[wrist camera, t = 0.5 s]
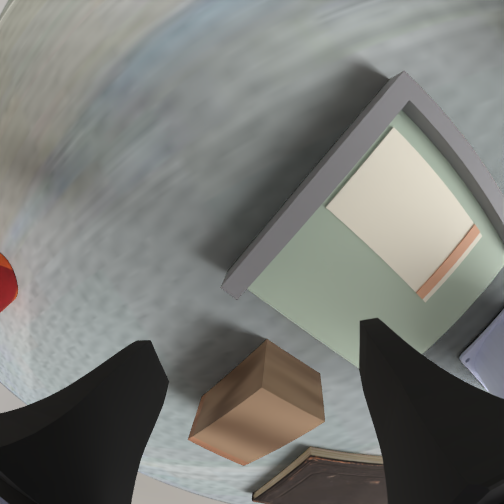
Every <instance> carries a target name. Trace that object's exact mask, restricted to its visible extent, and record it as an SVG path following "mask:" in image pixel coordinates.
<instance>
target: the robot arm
mask: <svg viewBox="0 0 504 504" xmlns="http://www.w3.org/2000/svg"><path fill="white" fill-rule="evenodd" d="M460 360H461V362H462V363H463V364H464V365H465V366H466V367H467V368H468V369H469V370H470V372H471V373H472V374H473V375H474V376H475V377H476V378H477V379H478V380H479V382H480V383H481V384H482V385H483V386H484V387H485V388H486V390H487V391H488V392H490V393H487V392H485V391H483V390H481V389H478V388H476V387H474V386H472V385H470V384H468V383H466V382H464V381H462V380H461V379H459V378H457V377H455V376H454V375H452V374H450V373H448V372H447V371H445V370H444V369H442V368H440V367H439V366H437V365H436V364H435V363H433V362H432V361H430V360H429V359H427V358H426V357H425V356H423V355H422V354H421V353H419V352H418V351H417V350H416V349H414V348H413V347H412V346H411V345H409V344H408V343H407V342H406V341H404V340H403V339H402V338H401V337H400V336H399V335H397V334H396V333H395V332H394V331H393V330H392V329H391V328H389V327H388V326H387V325H386V324H385V323H384V322H382V321H381V320H380V319H379V318H372V319H366V320H361V321H360V346H359V371H360V376H361V381H362V386H363V391H364V395H365V399H366V402H367V405H368V408H369V411H370V415H371V418H372V421H373V424H374V428H375V431H376V434H377V438H378V441H379V445H380V449H381V453H382V458H383V465H384V472H385V480H386V489H387V499H388V504H504V309H503V310H502V311H501V312H500V314H499V315H498V316H497V317H496V318H495V319H494V321H493V322H492V323H491V324H490V325H489V326H488V327H487V328H486V329H485V331H484V332H483V333H482V334H481V335H480V336H479V337H478V338H477V339H476V340H475V341H474V342H473V343H472V344H471V345H470V346H469V347H468V348H467V349H466V350H465V351H464V352H463V353H462V354H461V356H460ZM168 384H169V380H168V378H167V376H166V374H165V372H164V370H163V367H162V365H161V363H160V361H159V359H158V356H157V354H156V352H155V349H154V347H153V345H152V342H151V340H142V341H135V342H133V343H132V344H130V345H128V346H127V347H125V348H124V349H122V350H121V351H119V352H118V353H117V354H115V355H114V356H112V357H111V358H109V359H108V360H107V361H105V362H104V363H102V364H101V365H100V366H98V367H97V368H95V369H94V370H92V371H91V372H89V373H88V374H86V375H85V376H83V377H82V378H80V379H79V380H77V381H76V382H74V383H72V384H71V385H69V386H67V387H66V388H64V389H62V390H60V391H58V392H56V393H55V394H53V395H51V396H49V397H47V398H44V399H42V400H39V401H37V402H35V403H32V404H30V405H27V406H25V407H22V408H19V409H15V410H12V411H8V412H4V413H0V504H131V501H132V495H133V490H134V485H135V480H136V476H137V472H138V468H139V464H140V461H141V458H142V455H143V452H144V449H145V447H146V444H147V442H148V440H149V437H150V435H151V433H152V430H153V428H154V426H155V423H156V421H157V419H158V416H159V414H160V411H161V409H162V406H163V404H164V400H165V396H166V392H167V388H168Z"/></svg>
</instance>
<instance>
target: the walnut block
mask: <svg viewBox="0 0 504 504" xmlns="http://www.w3.org/2000/svg"><path fill="white" fill-rule="evenodd" d="M324 422H325V415H324V405H323V395H322V386H321V377H320V373H318V372H317V371H315V370H314V369H312V368H310V367H309V366H307V365H306V364H304V363H303V362H301V361H300V360H298V359H296V358H295V357H293V356H292V355H290V354H289V353H287V352H286V351H284V350H283V349H281V348H280V347H278V346H277V345H275V344H274V343H272V342H271V341H269V340H268V339H267V340H265V341H264V342H263V343H262V344H261V345H260V346H259V347H258V348H257V349H256V350H255V351H254V352H252V353H251V354H250V355H249V356H248V357H247V358H246V359H245V360H244V361H242V362H241V363H240V364H239V365H238V366H237V367H236V368H235V369H233V370H232V371H231V372H230V373H229V374H228V375H227V376H225V377H224V378H223V379H222V380H221V381H220V382H219V383H217V384H216V385H215V386H214V387H213V388H211V389H210V390H209V391H208V392H207V393H206V394H204V395H203V396H202V397H201V401H200V404H199V407H198V410H197V413H196V416H195V419H194V422H193V425H192V428H191V431H190V434H189V438H188V440H190V441H192V442H193V443H195V444H197V445H199V446H201V447H203V448H205V449H207V450H210V451H212V452H214V453H216V454H218V455H220V456H222V457H225V458H227V459H229V460H231V461H234V462H236V463H238V464H241V465H243V466H244V465H246V464H249V463H251V462H253V461H255V460H257V459H259V458H261V457H263V456H265V455H267V454H269V453H271V452H273V451H275V450H277V449H279V448H281V447H282V446H284V445H286V444H288V443H290V442H292V441H293V440H295V439H297V438H299V437H300V436H302V435H304V434H305V433H307V432H309V431H311V430H312V429H314V428H315V427H317V426H319V425H320V424H322V423H324Z"/></svg>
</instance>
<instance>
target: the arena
mask: <svg viewBox="0 0 504 504" xmlns="http://www.w3.org/2000/svg"><path fill="white" fill-rule="evenodd" d="M503 266H504V195H503V193H502V192H501V190H500V188H499V187H498V185H497V184H496V182H495V180H494V179H493V177H492V176H491V174H490V172H489V171H488V169H487V168H486V166H485V165H484V163H483V162H482V160H481V159H480V158H479V156H478V155H477V153H476V152H475V151H474V149H473V148H472V146H471V145H470V144H469V142H468V141H467V140H466V138H465V137H464V136H463V134H462V133H461V132H460V131H459V129H458V128H457V127H456V126H455V124H454V123H453V122H452V121H451V120H450V118H449V117H448V116H447V115H446V114H445V112H444V111H443V110H442V109H441V108H440V107H439V106H438V105H437V103H436V102H435V101H434V100H433V99H432V98H431V97H430V96H429V95H428V94H427V93H426V92H425V90H424V89H423V88H422V87H421V86H420V85H419V84H418V83H417V82H416V81H415V80H414V79H413V78H412V77H411V76H410V75H409V74H408V73H406V72H405V71H403V72H401V73H399V74H398V75H396V76H394V77H393V78H391V79H390V80H389V81H388V82H387V83H386V84H385V85H384V87H383V88H382V89H381V90H380V91H379V92H378V94H377V95H376V96H375V97H374V98H373V99H372V101H371V102H370V103H369V104H368V105H367V106H366V108H365V109H364V110H363V111H362V112H361V113H360V115H359V116H358V117H357V118H356V119H355V121H354V122H353V123H352V124H351V125H350V126H349V128H348V129H347V130H346V131H345V132H344V133H343V135H342V136H341V137H340V138H339V139H338V141H337V142H336V143H335V144H334V145H333V146H332V148H331V149H330V150H329V151H328V152H327V154H326V155H325V156H324V157H323V158H322V159H321V161H320V162H319V163H318V164H317V165H316V167H315V168H314V169H313V170H312V171H311V172H310V174H309V175H308V176H307V177H306V178H305V180H304V181H303V182H302V183H301V184H300V186H299V187H298V188H297V189H296V190H295V191H294V193H293V194H292V195H291V196H290V197H289V199H288V200H287V201H286V202H285V203H284V205H283V206H282V207H281V208H280V209H279V210H278V212H277V213H276V214H275V215H274V216H273V218H272V219H271V220H270V221H269V222H268V224H267V225H266V226H265V227H264V228H263V230H262V231H261V232H260V233H259V234H258V236H257V237H256V238H255V239H254V240H253V242H252V243H251V244H250V245H249V246H248V248H247V249H246V250H245V251H244V252H243V254H242V255H241V256H240V257H239V258H238V260H237V261H236V262H235V263H234V264H233V266H232V267H231V268H230V269H229V270H228V272H227V274H226V276H225V279H224V281H223V283H222V285H221V288H222V289H223V290H224V291H226V292H227V293H228V294H230V295H231V296H232V297H234V298H235V299H236V300H238V298H239V297H240V296H241V295H242V294H243V293H244V292H245V291H246V290H247V289H248V290H249V291H251V292H252V293H253V294H255V295H256V296H257V297H259V298H260V299H261V300H263V301H264V302H266V303H267V304H268V305H270V306H271V307H272V308H274V309H275V310H277V311H278V312H279V313H281V314H282V315H283V316H285V317H286V318H288V319H289V320H290V321H292V322H293V323H295V324H296V325H297V326H299V327H300V328H302V329H303V330H304V331H306V332H307V333H309V334H310V335H311V336H313V337H314V338H316V339H317V340H319V341H320V342H321V343H323V344H324V345H326V346H327V347H329V348H330V349H331V350H333V351H334V352H336V353H337V354H339V355H340V356H342V357H343V358H344V359H346V360H347V361H349V362H350V363H352V364H353V365H355V366H356V367H358V368H359V346H360V321H361V320H366V319H372V318H379V319H380V320H381V321H382V322H384V323H385V324H386V325H387V326H388V327H389V328H391V329H392V330H393V331H394V332H395V333H396V334H397V335H399V336H400V337H401V338H402V339H403V340H404V341H406V342H407V343H408V344H409V345H411V346H412V347H413V348H414V349H416V350H417V351H418V352H419V353H421V354H423V353H424V352H425V351H426V350H427V349H429V348H430V347H431V346H432V345H433V344H434V343H435V342H436V341H437V340H438V339H439V338H440V337H441V336H442V335H443V334H444V333H445V332H446V331H447V330H448V329H449V328H450V327H451V326H452V325H453V324H454V323H455V322H456V321H457V320H458V319H459V318H460V317H461V316H462V315H463V314H464V313H465V312H466V311H467V309H468V308H469V307H470V306H471V305H472V304H473V303H474V302H475V301H476V299H477V298H478V297H479V296H480V295H481V294H482V292H483V291H484V290H485V289H486V288H487V286H488V285H489V284H490V283H491V282H492V280H493V279H494V278H495V277H496V275H497V274H498V273H499V271H500V270H501V269H502V268H503Z"/></svg>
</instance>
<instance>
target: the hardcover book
mask: <svg viewBox="0 0 504 504" xmlns="http://www.w3.org/2000/svg"><path fill="white" fill-rule="evenodd" d="M252 501H253V502H259V503H264V504H388V499H387V489H386V480H385V472H384V465H383V458H382V456H372V455H363V454H354V453H347V452H340V451H333V450H327V449H321V448H316V447H311V446H310V447H309V448H308V449H307V450H306V451H305V452H304V453H303V454H302V455H301V456H299V457H298V458H297V459H296V460H295V461H294V462H292V463H291V464H290V465H289V466H288V467H287V468H285V469H284V470H283V471H282V472H281V473H279V474H278V475H277V476H276V477H274V478H273V479H272V480H271V481H269V482H268V483H267V484H265V485H264V486H263V487H261V488H260V489H259V490H257V491H256V492H255V493H254V492H253V494H252Z"/></svg>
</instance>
